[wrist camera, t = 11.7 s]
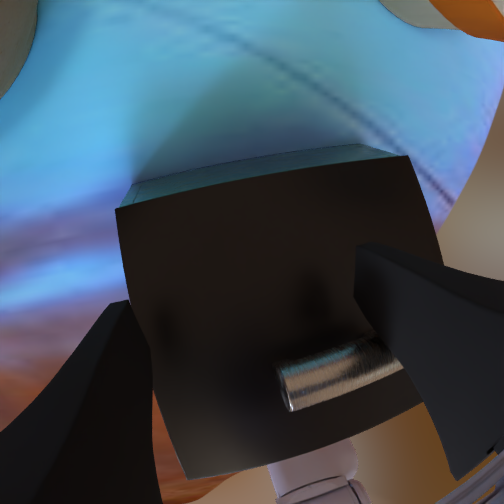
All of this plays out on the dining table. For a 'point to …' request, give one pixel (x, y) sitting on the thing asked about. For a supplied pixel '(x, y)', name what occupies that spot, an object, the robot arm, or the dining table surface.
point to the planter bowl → (15, 38)
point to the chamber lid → (270, 308)
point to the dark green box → (249, 170)
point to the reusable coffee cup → (453, 15)
